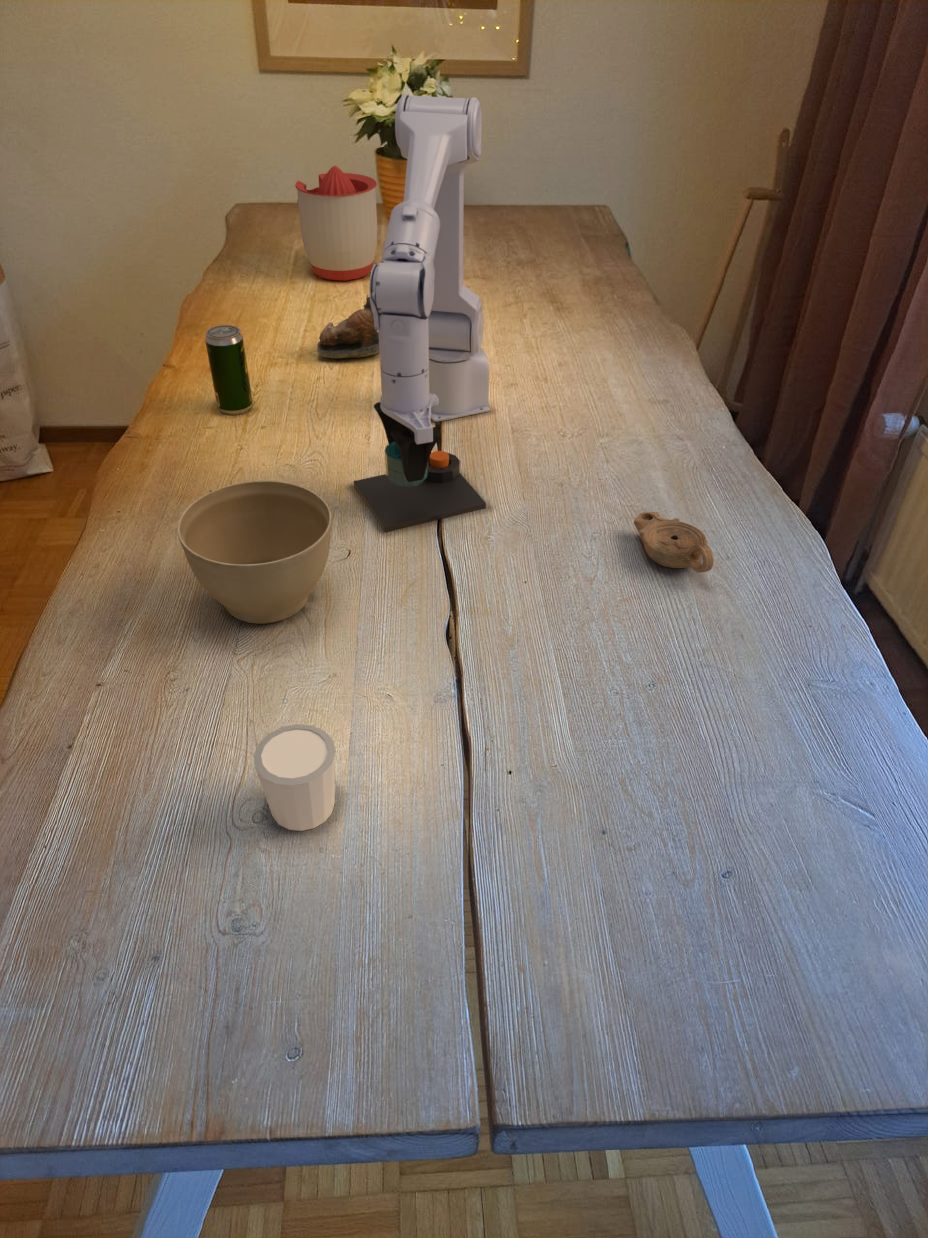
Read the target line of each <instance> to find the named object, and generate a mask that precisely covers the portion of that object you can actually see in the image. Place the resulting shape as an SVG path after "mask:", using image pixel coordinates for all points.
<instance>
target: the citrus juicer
mask: <svg viewBox="0 0 928 1238" xmlns="http://www.w3.org/2000/svg"><path fill="white" fill-rule="evenodd" d="M377 183H378V182H377V181H376V180H375V179H374V178H372V177H370V176H367V175H364V174H359V173H352V172H351V173H350V172H344V171H343V170H342V169H341V168H340V167H338V166H337V165H333V166H331V168H329V169H328V171H327V172H325V173H319V174H318V186H317V187H315V188H312V189H308V188H307V184H306V183H304V182H302V181H300V180H297V181H296V182H295V185H294V187H295V189H296V193H297V199H296V204H297V205H298V213H299V223H300V232H301V238H302V239H301V240H302V244H303V247H304V251H305V254H306V257H307V259H308V263H309V265H310V267H311V269H312V271H313V273H314V274H315V275H316V277H317V276H318V277H319V278H322V279H326V280H333V281H339V282H348V281H349V280H356V279H361V278H362V277H365V276H367V275H369V274H371V271H372V268H373V266H374V262H375V257H376V252H377V245H378V244H377V243H378V214H377V212H378V211H377V194H376V192H377V191H376V187H377V185H378V184H377Z"/></svg>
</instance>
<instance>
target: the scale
mask: <svg viewBox="0 0 928 1238" xmlns="http://www.w3.org/2000/svg"><path fill="white" fill-rule="evenodd" d="M445 452H446V453H448V455H449V465H448V466H447V467H444V468H434V467H432V466H430V457H429V460H428V476H427V478H426V479H425V480H424V481H423V482H422V483H421V484H419V485H416V486H412V487H402V486H398V485H395V484H393V483H392V482H391V481H390V480H388V478H387V476H386V473H384V474H379V475H376V476H375V475H374V476H370V477H366V478H362V479H361V478H360V479H356V480H352V481H353V488H354V489H355V490H356V492H357V494H358V495H359V496H360V498H361V499H362V500H363V502H364V503H365V505H366V506H367V508H368V509H369V511H370V512H371V514H372V515H373V517H374V518H375V520H376V521H377V522H378V524H379V525H380V527H381V528H382V530H383V531H384V533H391V532H394V531H398V530H402V529H407V528H411V527H414V526H420V525H424V524H427V523H431V522H435V521H440V520H443V519H447V518H452V517H455V516H460V515H464V514H468V513H472V512H476V511H481V510H485V509H486V508H487V503H486V501H485V500H484V499H483V498H482V497H481V496H480V494H479V493H478V492H477V491H476V490H475V489H474V488H473V486H472V485H471V484H470V483H469V481H468V480H467V479H466V478H465V477H464V476H463V475H462V474H461V473H460V472H461V460H460V458H459V457H457V456H456V455H455V454H452V453H451V452H447V451H445Z"/></svg>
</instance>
